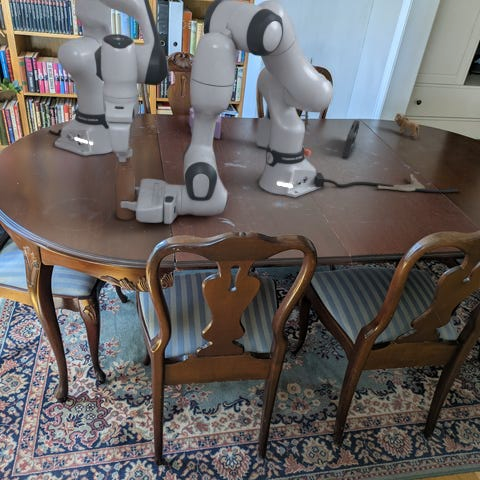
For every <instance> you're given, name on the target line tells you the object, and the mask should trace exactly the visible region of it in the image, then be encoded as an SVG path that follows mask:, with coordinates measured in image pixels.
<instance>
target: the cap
mask: <svg viewBox="0 0 480 480" xmlns="http://www.w3.org/2000/svg"><path fill="white" fill-rule="evenodd" d="M115 155H116V157H118V158H119V155H118V153H115ZM128 157H130V158H131V157H133V147H132V146H130V145H128V152H127V153H126V158H128Z"/></svg>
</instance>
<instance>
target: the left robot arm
mask: <svg viewBox="0 0 480 480" xmlns="http://www.w3.org/2000/svg"><path fill="white" fill-rule="evenodd" d="M112 10H114V11H117V12H120V13H122V14H125V15H126V16H128V17H130V18H132V19H133V20H135V21H136V22H137V24H138V26H139V30H140V34H141V37H142V41H143V44H136V43H135V40H133V38H131V36H128V35H125V34H119V33H113V28H112V18H111V17H112ZM74 14H75V17H76V18H77V19H78V21H80V23H81V28H82V36H80V37H75V38H71V39H69V40H67V41H66V42H64V43H62V44H61V45H60V46H59V48H58V50H57V60H58V64H59V65H60V67H61V68H62V69H63V71H65V72H66V73H67V74H68V75H69V76H70V77H71V80H72V82H73V83H74V88H75V92H76V101H77V108H76V109H75V110H74V111H71V115H72V116H74V115H75V116H74V118H73V119H72V120H71V121H69V122H68V123H67V124H65V125H64V126H63V127H62V128H61V129H59V130H58V131H57V132H55V131H53V130H52V129H49V130H48V132H49V133H50V134H53V135H55V136H59V135H60V137H59V138H57V139H56V140H55V142H54V146H55V147H57V148H59V149H62V150H65V151H69V152H72V153H74V154H78V155H80V156H84V157H85V156H86V157H87V156H92V155H105V154H108V153H111V152H113V153H114V154H116V153H118V155H119V157H118V160H119V161H120V162H126V153H127V152H128V146H130V139H131V138H130V137H131V131H132V125H133V122H134V119H135V117H136V116H137V115H138V114H139V113H140V96H139V95H140V93H139V89H138V84H139V85H141V84H142V85H147V86H158V85H160V84H161V83H163V82H164V81H165V80H166V78H167V77H168V75H169V74H168V73H169V61H168V58H167V55H166V51H165V49H164V46H163V44H162V41H161V38H160V35H159V30H158V28H157V23H156V20H155V16H154V13H153V10H152V7H151V3H150V0H74Z"/></svg>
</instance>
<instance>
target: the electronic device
mask: <svg viewBox="0 0 480 480" xmlns="http://www.w3.org/2000/svg"><path fill="white" fill-rule="evenodd" d="M265 110H266V111H265V114H264V116H263V117H262V118H260V120H259V125H258V128H257V132H256V137H255V146H257V148H261V149H265V150H267V145H268V144H269V139H270V129H271V119H270V113H269V109H268V106H267V105H266V109H265Z"/></svg>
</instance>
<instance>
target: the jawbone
mask: <svg viewBox="0 0 480 480" xmlns="http://www.w3.org/2000/svg"><path fill="white" fill-rule="evenodd" d="M409 179H410V184H409V183H408V184H393V185H394V186H393V187H387V186H380V185H378V186H376V188H377V189H380V190H391V191H400V192H409V193H410V192H416V191H415V190H416V189H415V188H419V189H426V187H425V185H424V184H422V183H421V182H419V181H418V179H417V177H415V176H414V174H413V173H410V174H409Z"/></svg>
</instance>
